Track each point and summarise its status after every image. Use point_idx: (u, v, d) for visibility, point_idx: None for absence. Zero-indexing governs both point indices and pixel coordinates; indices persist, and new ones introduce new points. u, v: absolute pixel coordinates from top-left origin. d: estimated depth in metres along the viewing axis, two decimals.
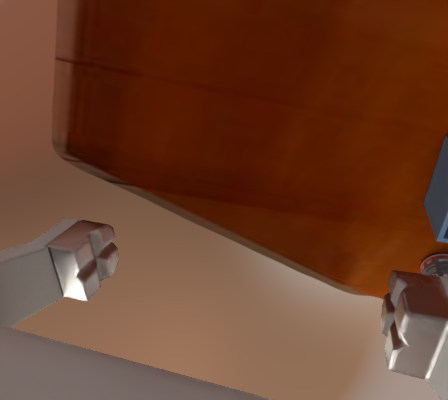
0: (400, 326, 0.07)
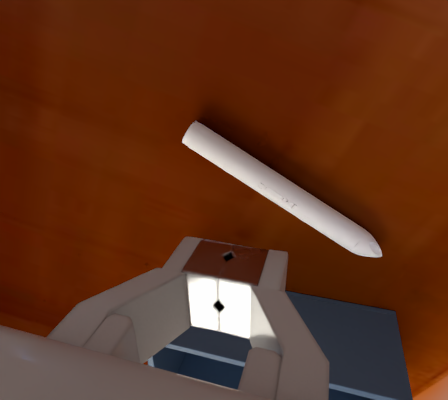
0: (219, 290, 0.08)
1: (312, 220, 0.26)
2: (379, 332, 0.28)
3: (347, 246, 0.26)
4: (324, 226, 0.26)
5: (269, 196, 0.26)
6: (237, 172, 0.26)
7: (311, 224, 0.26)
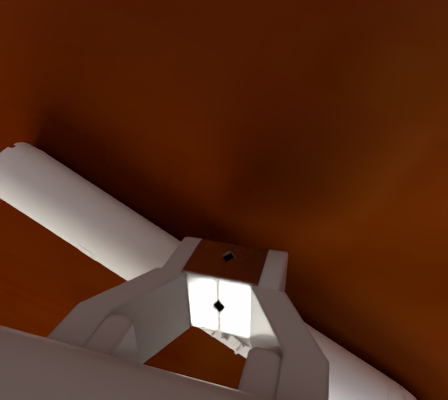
0: (219, 290, 0.08)
1: None
2: None
3: None
4: None
5: None
6: (110, 264, 0.11)
7: None
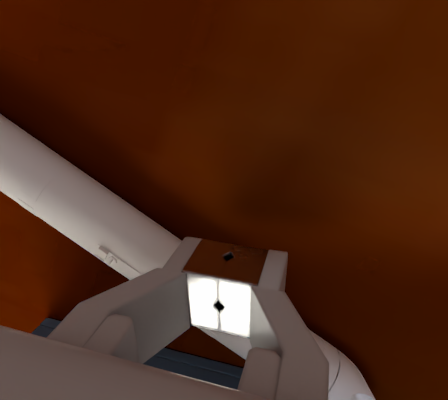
0: (218, 290, 0.08)
1: (221, 337, 0.11)
2: None
3: None
4: None
5: (126, 276, 0.11)
6: (49, 219, 0.11)
7: (222, 343, 0.11)
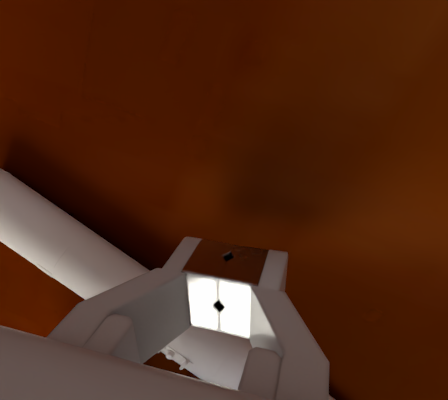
0: (219, 290, 0.08)
1: None
2: None
3: None
4: None
5: None
6: (65, 283, 0.12)
7: None
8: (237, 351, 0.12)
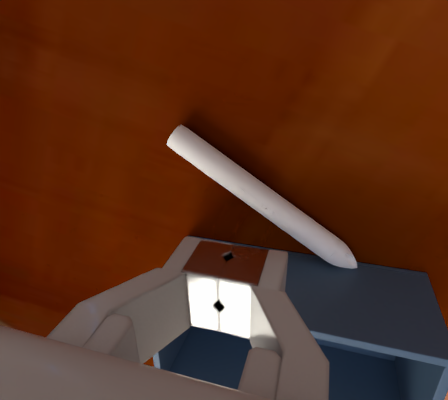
0: (219, 290, 0.08)
1: (290, 228, 0.26)
2: (411, 292, 0.25)
3: (323, 255, 0.26)
4: (301, 235, 0.26)
5: (249, 202, 0.26)
6: (219, 177, 0.26)
7: (289, 232, 0.27)
8: (295, 210, 0.26)
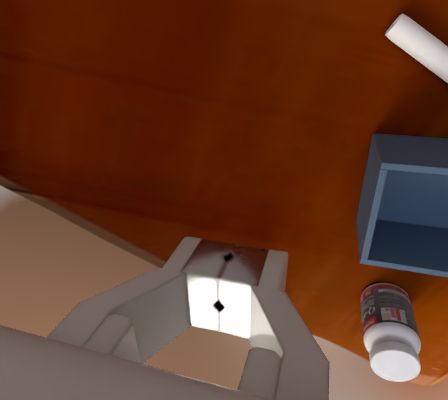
0: (219, 290, 0.08)
1: None
2: None
3: None
4: None
5: None
6: (439, 61, 0.29)
7: None
8: None
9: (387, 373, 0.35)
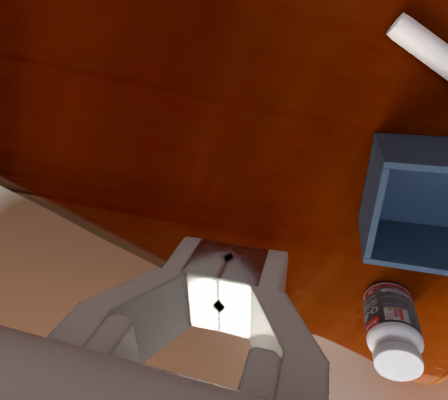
0: (219, 290, 0.08)
1: None
2: None
3: None
4: None
5: None
6: (441, 60, 0.29)
7: None
8: None
9: (390, 373, 0.35)
